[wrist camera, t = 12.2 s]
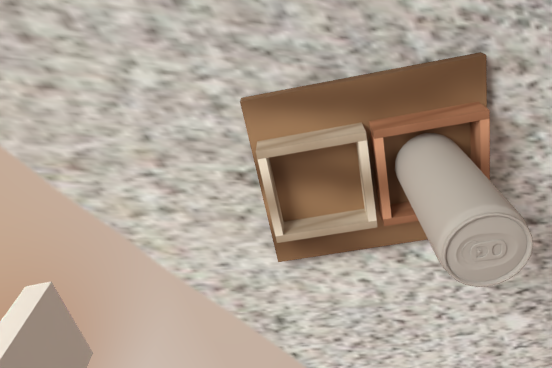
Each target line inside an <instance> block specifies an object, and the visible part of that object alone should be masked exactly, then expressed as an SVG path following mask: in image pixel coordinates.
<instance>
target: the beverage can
mask: <svg viewBox="0 0 552 368" xmlns="http://www.w3.org/2000/svg"><path fill="white" fill-rule="evenodd" d="M395 172H396V176H397V178H398V180H399V182H400V184H401V186H402V188H403V190H404V192H405V194H406V196H407V198H408V200H409V202H410V204H411V206H412V208H413V210H414V212H415V214H416V216H417V218H418V220H419V222H420V224H421V226H422V228H423V230H424V232H425V234H426V236H427V238H428V240H429V242H430V244H431V246H432V248H433V250H434V252H435V254H436V256H437V258H438V260H439V262H440V263H441V265H442V266H443V268H444V269H445V270H446V271H448V273H449V275H451V276H452V277H453V278H454V279H455V280H456V281H458V282H461V283H463V284H465V285H469V286H475V287H484V286H491V285H495V284H499V283H501V282H504V281H506V280H508V279H510V278H511V277H513V276H514V275H515V274H517V273H518V272H519V271H520V270H521V269H522V268H523V267H524V266H525V265H526V263H527V261H528V259H529V257H530V256H531V252H532V247H533V241H532V235H531V233H530V231H529V229H528V226H527V224H526V222H525V220H524V219H523V217H522V216H521V215H520V214H519V213H518V212H517V210H516V209H515V208H514V207H513V206H512V205H511V204H510V203H509V202H508V200H507V199H506V198H505V197H504V196H503V195H502V194H501V193H500V191H499V190H498V189H497V188H496V187H495V186H494V185H493V184H492V183H491V181H490V180H489V179H488V178H487V177H486V176H485V175H484V174H483V173H482V171H481V170H480V169H479V168H478V167H477V166H476V165H475V164H474V163H473V161H472V160H471V159H470V158H469V157H468V156H467V155H466V154H465V153H464V152H463V151H462V150H461V149H460V147H459V146H458V145H457V144H456V143H455V142H453V141H452V140H451V139H450V138H448V137H446V136H444V135H440V134H436V133H424V134H421V135H417V136H415V137H414V138H412V139H410V140H409V141H408V142H407V143H405V144H404V145H403V146H402V148H401V149H400V151H399V152H398V155H397V158H396V160H395Z"/></svg>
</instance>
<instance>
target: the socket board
mask: <svg viewBox="0 0 552 368" xmlns="http://www.w3.org/2000/svg"><path fill="white" fill-rule="evenodd" d="M240 103H241V107H242V111H243V116H244V120H245V124H246V128H247V132H248V137H249V141H250V145H251V149H252V153H253V158H254V162H255V166H256V170H257V174H258V179H259V183H260V187H261V191H262V195H263V200H264V204H265V208H266V212H267V217H268V221H269V225H270V229H271V233H272V238H273V242H274V246H275V250H276V254H277V259H278V262H282V261H288V260H295V259H302V258H308V257H315V256H321V255H328V254H334V253H341V252H347V251H354V250H361V249H367V248H374V247H380V246H387V245H393V244H400V243H407V242H413V241H420V240H426V239H428V238H427V236H426V234H425V232H424V230H423V228H422V226H421V224H420V222H419V220H418V218H417V216H416V214H415V212H414V210H413V208H412V206H411V204H410V202H409V200H408V198H407V196H406V194H405V192H404V190H403V188H402V186H401V184H400V182H399V180H398V178H397V176H396V172H395V160H396V158H397V155H398V152H399V151H400V149H401V148H402V146H403V145H404V144H405V143H407V142H408V141H409V140H410V139H412V138H414V137H415V136H417V135H421V134H424V133H436V134H440V135H444V136H446V137H448V138H450V139H451V140H452V141H453V142H455V143H456V144H457V145H458V146H459V147H460V149H461V150H462V151H463V152H464V153H465V154H466V155H467V156H468V157H469V158H470V159H471V160H472V161H473V163H474V164H475V165H476V166H477V167H478V168H479V169H480V170H481V171H482V173H483V174H484V175H485V176H486V177H487V178H488V179H489V180H490V117H489V109H487V84H486V55H485V54H483V53H481V52H480V53H475V54H470V55H464V56H459V57H454V58H449V59H443V60H438V61H433V62H428V63H422V64H417V65H412V66H407V67H401V68H396V69H391V70H386V71H380V72H375V73H370V74H365V75H359V76H354V77H349V78H344V79H338V80H333V81H328V82H323V83H317V84H312V85H307V86H302V87H296V88H291V89H286V90H281V91H275V92H270V93H265V94H260V95H254V96H249V97H244V98H241V101H240Z"/></svg>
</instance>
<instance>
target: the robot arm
mask: <svg viewBox="0 0 552 368" xmlns="http://www.w3.org/2000/svg"><path fill="white" fill-rule="evenodd" d="M92 354H93V352H92V350H91V349H90V347H89V345H88V343H87V342H86V340H85V338H84V337H83V335H82V333H81V332H80V330H79V328H78V327H77V325H76V323H75V321H74V320H73V318H72V316H71V314H70V313H69V311H68V309H67V307H66V306H65V304H64V302H63V301H62V299H61V297H60V295H59V294H58V292H57V290H56V289H55V287H54V285H53V284H52V282H46V283H41V284H36V285H31V286H26V287H25V288H24V289H23V291H22V292H21V293H20V295H19V296H18V298H17V299H16V301H15V302H14V303H13V305H12V306H11V308H10V309H9V310H8V312H7V313H6V314H5V316H4V317H3V318H2V320H1V321H0V368H86V367H87V365H88V363H89V361H90V358H91V356H92Z"/></svg>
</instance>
